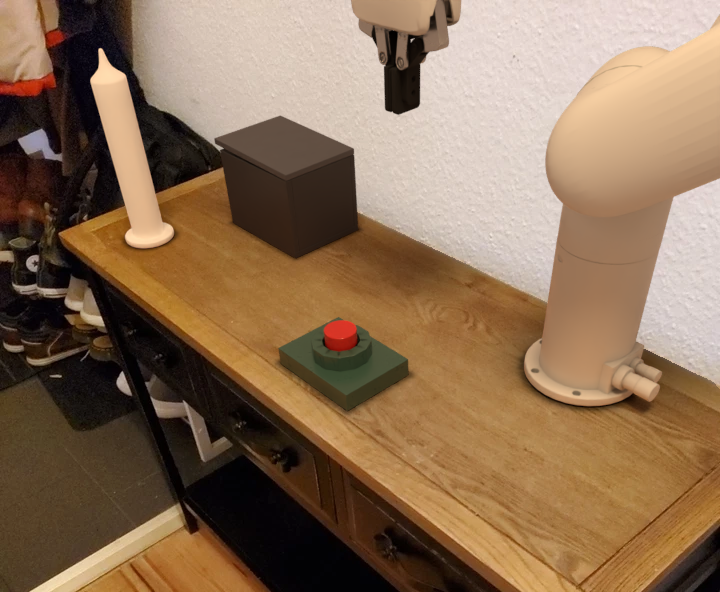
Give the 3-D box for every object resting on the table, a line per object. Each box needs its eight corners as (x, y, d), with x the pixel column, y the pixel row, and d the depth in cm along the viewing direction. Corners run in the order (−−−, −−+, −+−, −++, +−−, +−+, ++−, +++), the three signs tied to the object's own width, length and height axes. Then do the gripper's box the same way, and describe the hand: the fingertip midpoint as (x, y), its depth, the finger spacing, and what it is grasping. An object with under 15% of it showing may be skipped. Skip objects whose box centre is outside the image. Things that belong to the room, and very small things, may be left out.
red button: (364, 342, 81) (363, 329, 80) (339, 356, 80) (338, 342, 79) (343, 329, 83) (342, 316, 82) (318, 342, 82) (317, 329, 81)
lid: (214, 144, 104) (213, 138, 103) (280, 120, 109) (280, 115, 108) (286, 181, 95) (285, 175, 94) (354, 154, 100) (354, 148, 100)
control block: (408, 375, 83) (408, 345, 80) (347, 411, 79) (345, 381, 76) (339, 332, 90) (337, 303, 87) (280, 363, 86) (275, 334, 83)
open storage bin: (232, 222, 111) (219, 149, 104) (293, 197, 116) (285, 126, 109) (295, 258, 103) (286, 181, 95) (358, 229, 108) (354, 154, 100)
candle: (182, 238, 109) (137, 48, 91) (137, 253, 106) (82, 61, 88) (162, 221, 113) (116, 36, 95) (119, 235, 110) (63, 48, 92)
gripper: (504, -138, 56) (486, 117, 69) (373, -146, 64) (379, 82, 77) (434, -124, 53) (429, 140, 66) (305, -135, 61) (324, 102, 74)
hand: (402, 108), depth 72 cm, fingers closed
